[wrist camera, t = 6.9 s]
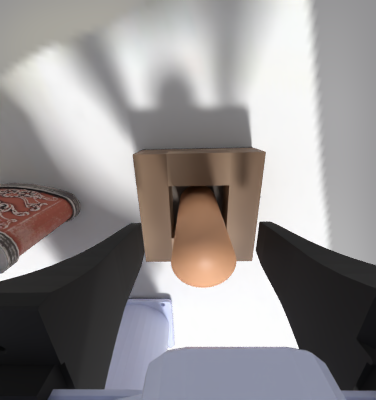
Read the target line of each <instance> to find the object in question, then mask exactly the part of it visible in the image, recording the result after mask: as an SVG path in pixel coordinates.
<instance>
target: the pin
mask: <svg viewBox="0 0 376 400" xmlns="http://www.w3.org/2000/svg"><path fill="white" fill-rule="evenodd" d="M171 266H172V269H173V272H174V273H175V275H176V276H177V277H178V278H179V279H180V280H181V281H182V282H184V283H186V284H188V285H191V286H194V287H201V288H203V287H212V286H216V285H218V284H220V283H222V282H224V281H225V280H227V279H228V278H229V277H230V276H231V274H232V273H233V271H234V269H235V266H236V255H235V252H234V249H233V246H232V243H231V240H230V238H229V235H228V232H227V229H226V226H225V223H224V220H223V218H222V215H221V212H220V209H219V206H218V203H217V200H216V198H215V195H214V193H213V192H212V190H211V189H210V188H208V187H206V186H190V187H188V188H186V189H185V190H184V191H183V193H182V194H181V197H180V202H179V209H178V216H177V223H176V230H175V237H174V244H173V251H172V257H171Z"/></svg>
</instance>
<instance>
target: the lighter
mask: <svg viewBox="0 0 376 400" xmlns="http://www.w3.org/2000/svg"><path fill="white" fill-rule="evenodd" d="M79 212H80V204H79V201H78V199H77V198H76V197H75V196H74V195H73V194H71V193H69V192H66V191H62V190H59V189H55V188H52V187H46V186H41V185H36V184H22V183H10V184H0V273H3V272H4V271H6V270H7V269H8V268H10V267H11V266H12V265H13V264H15V263H16V262H17V261H18V259H19V256H20V255H22V254H23V253H24V252H26V251H27V250H28V249H30V248H31V247H32V246H34V245H35V244H36V243H37V242H39V241H40V240H41V239H43V238H44V237H45V236H47V235H48V234H49V233H51V232H52V231H53V230H55V229H56V228H57V227H59V226H60V225H61V224H63V223H64V222H67V221H70V220H72V219H73V218H74V217H75V216H77V215H78V214H79Z"/></svg>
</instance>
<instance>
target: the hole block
mask: <svg viewBox="0 0 376 400" xmlns="http://www.w3.org/2000/svg"><path fill="white" fill-rule="evenodd" d="M265 154H266V152H264V151H261V150H258V149H256V148H253V147H246V148H197V149H147V150H141V151H139V152H137V153H135V154H133V161H134V169H135V177H136V185H137V193H138V201H139V209H140V216H141V224H142V232H143V240H144V248H145V256H146V262H167V261H171V257H172V251H173V244H174V237H175V230H176V223H177V216H178V209H179V202H180V197H181V194H182V193H183V191H184V190H185V189H186V188H188V187H190V186H206V187H208V188H210V189H211V190H212V192H213V193H214V195H215V198H216V200H217V203H218V206H219V209H220V212H221V215H222V218H223V220H224V223H225V226H226V229H227V232H228V235H229V238H230V240H231V243H232V246H233V249H234V252H235V255H236V261H252V257H253V249H254V241H255V233H256V225H257V217H258V209H259V201H260V193H261V186H262V178H263V170H264V162H265Z"/></svg>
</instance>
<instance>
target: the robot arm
mask: <svg viewBox="0 0 376 400" xmlns="http://www.w3.org/2000/svg"><path fill="white" fill-rule="evenodd" d="M144 252H145V251H144V243H143V235H142V227H141V223H131V224H129V225H127V226H126V227H124V228H123V229H121V230H119V231H118V232H116V233H115V234H113V235H112V236H110V237H109V238H107V239H105V240H104V241H102V242H100V243H99V244H97V245H95V246H94V247H92V248H90V249H88V250H86V251H84V252H82V253H80V254H78V255H76V256H74V257H72V258H69V259H67V260H64V261H62V262H59V263H57V264H54V265H52V266H49V267H46V268H43V269H41V270H38V271H35V272H32V273H28V274H25V275H22V276H19V277H15V278H11V279H7V280H4V281H0V400H376V265H373V264H369V263H366V262H363V261H360V260H357V259H353V258H350V257H348V256H345V255H342V254H339V253H337V252H334V251H331V250H329V249H326V248H324V247H322V246H319V245H317V244H315V243H313V242H310V241H308V240H306V239H304V238H302V237H300V236H298V235H296V234H294V233H292V232H290V231H288V230H287V229H285V228H283V227H281V226H279V225H277V224H275V223H272V222H260V223H259V231H258V238H257V246H256V252H257V255H258V258H259V261H260V263H261V266H262V268H263V270H264V271H265V273H266V275H267V277H268V279H269V281H270V283H271V285H272V287H273V288H274V290H275V292H276V294H277V296H278V298H279V300H280V302H281V304H282V306H283V309H284V311H285V313H286V316H287V318H288V321H289V323H290V326H291V328H292V331H293V334H294V336H295V339H296V342H297V344H298V347H299V349H295V348H290V347H184V348H178V349H173V350H167V348H168V347H173V346H174V343H175V341H174V327H173V313H172V302H171V300H169V299H128V298H129V295H130V293H131V290H132V288H133V285H134V283H135V280H136V278H137V275H138V273H139V270H140V267H141V264H142V260H143V256H144Z"/></svg>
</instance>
